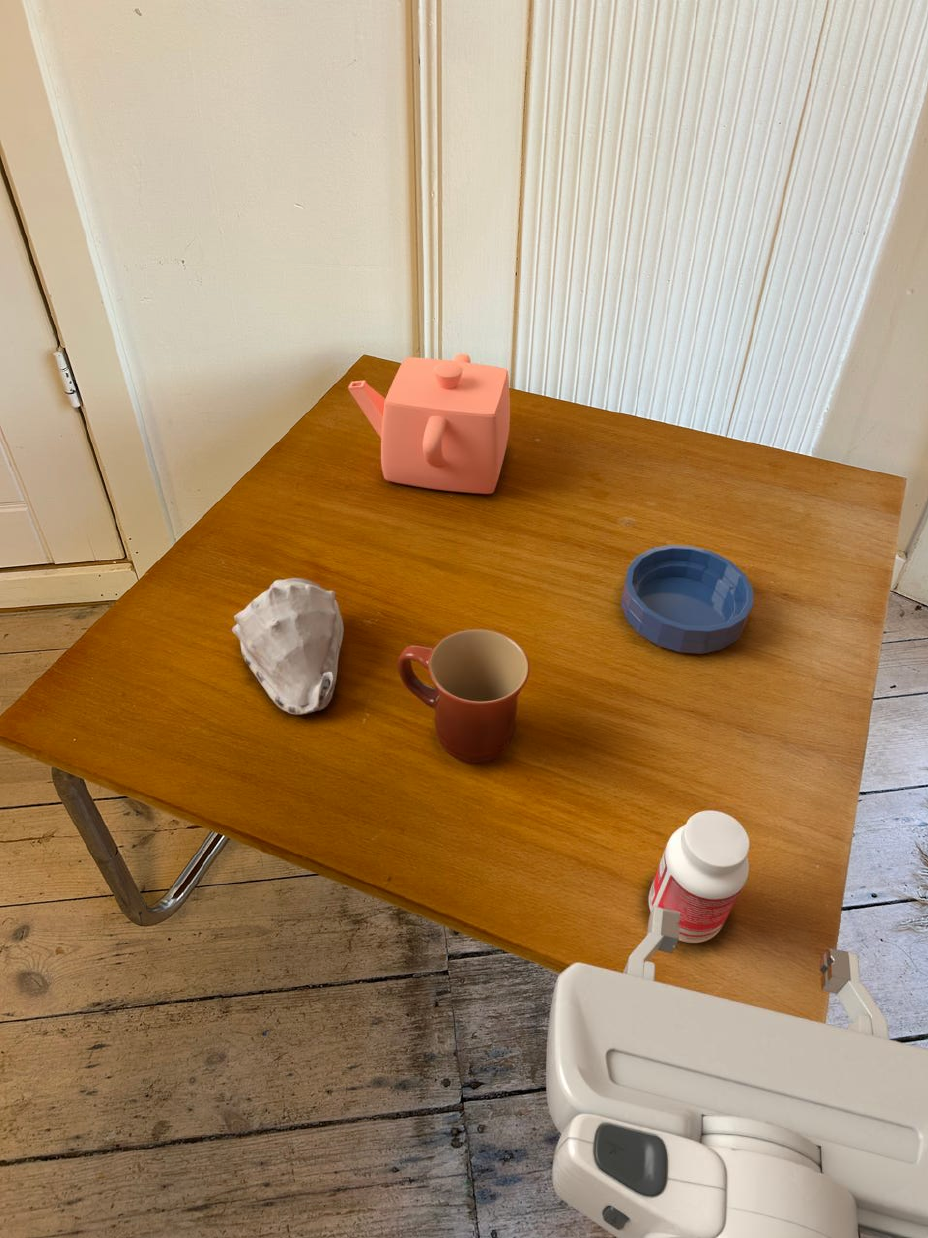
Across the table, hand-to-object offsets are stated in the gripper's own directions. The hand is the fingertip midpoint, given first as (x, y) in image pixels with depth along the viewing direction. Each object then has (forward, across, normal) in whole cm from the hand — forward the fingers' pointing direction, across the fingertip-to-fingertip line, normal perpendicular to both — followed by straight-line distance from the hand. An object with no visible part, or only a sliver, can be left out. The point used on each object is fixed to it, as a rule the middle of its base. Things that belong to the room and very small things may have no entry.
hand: (750, 933), depth 48 cm
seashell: (+30, +39, +20) cm, 53 cm away
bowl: (+47, +2, +20) cm, 51 cm away
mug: (+25, +22, +20) cm, 39 cm away
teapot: (+67, +36, +20) cm, 78 cm away
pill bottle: (+12, 0, +20) cm, 24 cm away
